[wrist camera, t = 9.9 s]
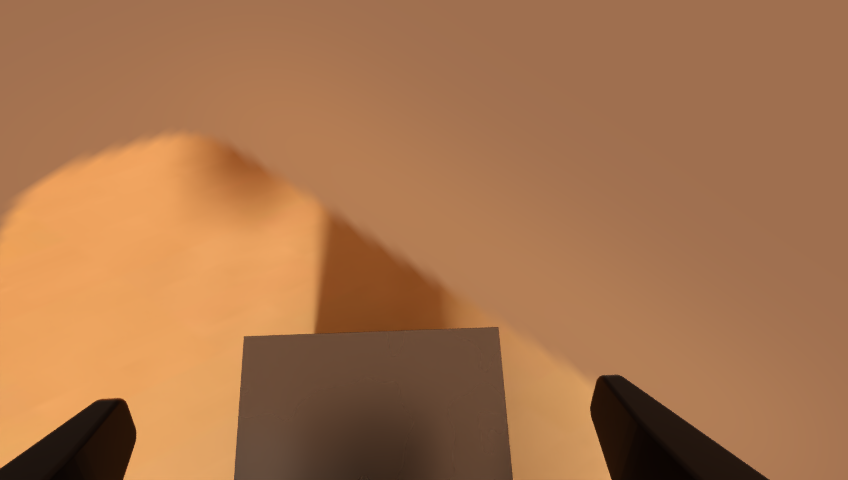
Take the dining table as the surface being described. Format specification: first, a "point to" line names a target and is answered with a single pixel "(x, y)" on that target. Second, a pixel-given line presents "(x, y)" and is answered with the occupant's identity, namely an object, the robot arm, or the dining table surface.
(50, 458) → the robot arm
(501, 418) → the grey rectangular block
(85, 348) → the dining table surface
